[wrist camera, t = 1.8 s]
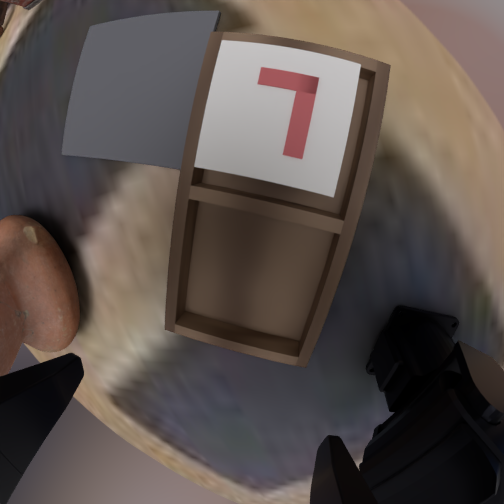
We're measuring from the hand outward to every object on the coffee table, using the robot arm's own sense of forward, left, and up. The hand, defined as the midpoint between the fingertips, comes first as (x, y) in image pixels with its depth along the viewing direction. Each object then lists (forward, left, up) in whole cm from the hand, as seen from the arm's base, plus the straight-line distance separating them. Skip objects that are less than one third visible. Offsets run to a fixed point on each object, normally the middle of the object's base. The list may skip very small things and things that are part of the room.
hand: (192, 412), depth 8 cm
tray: (0, -5, -12) cm, 13 cm away
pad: (+12, -12, -12) cm, 21 cm away
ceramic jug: (+22, +7, -13) cm, 26 cm away
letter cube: (0, -10, -12) cm, 16 cm away
